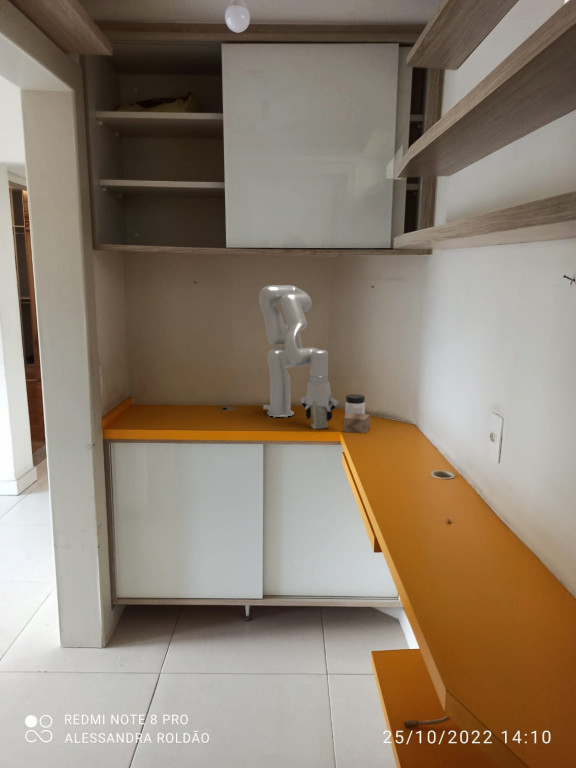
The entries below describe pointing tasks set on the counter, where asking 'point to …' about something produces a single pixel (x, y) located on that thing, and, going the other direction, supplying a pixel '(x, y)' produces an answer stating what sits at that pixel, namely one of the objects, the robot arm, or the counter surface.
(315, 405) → the skincare box
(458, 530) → the counter surface
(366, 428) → the brown square block
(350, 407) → the jar
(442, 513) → the counter surface
